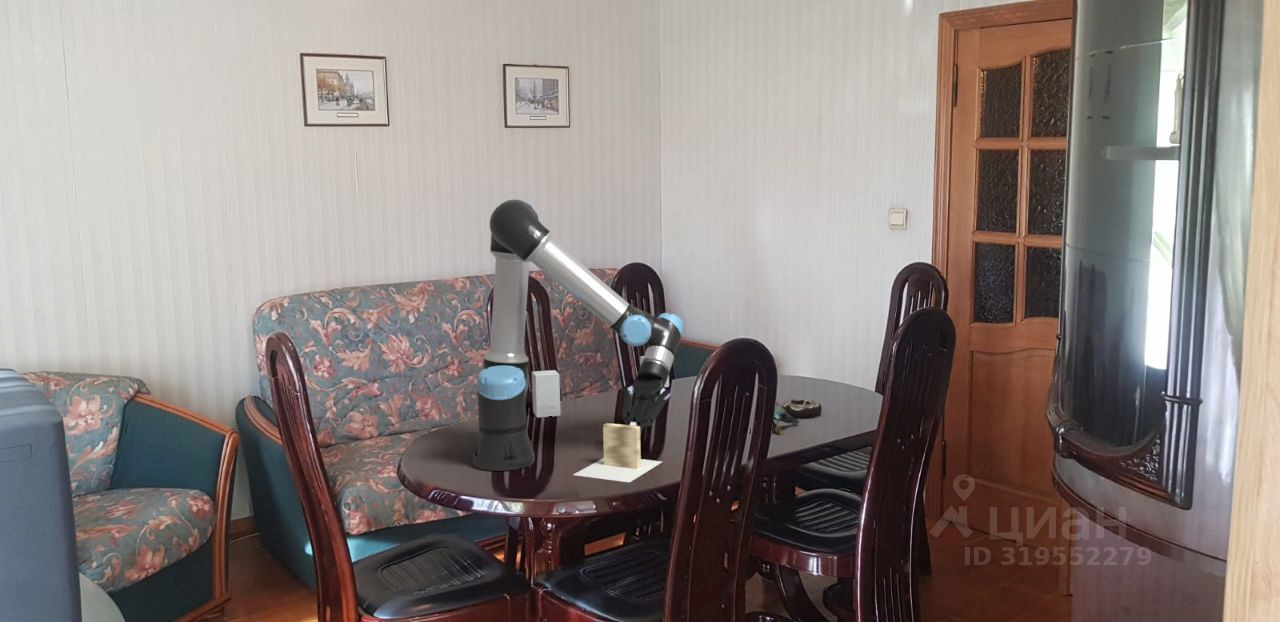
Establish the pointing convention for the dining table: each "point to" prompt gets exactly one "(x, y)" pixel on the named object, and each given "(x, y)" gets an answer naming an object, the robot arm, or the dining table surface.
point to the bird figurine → (782, 418)
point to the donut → (802, 408)
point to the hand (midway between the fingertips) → (627, 447)
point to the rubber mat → (616, 471)
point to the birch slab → (622, 445)
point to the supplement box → (546, 393)
